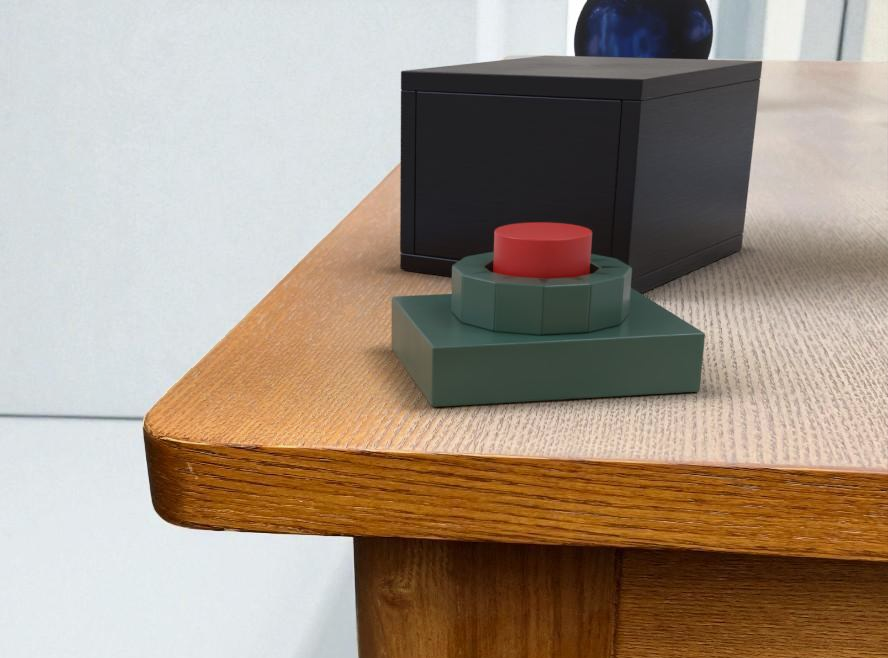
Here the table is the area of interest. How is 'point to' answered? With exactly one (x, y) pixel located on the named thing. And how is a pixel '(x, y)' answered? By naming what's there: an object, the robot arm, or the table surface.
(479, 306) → the block
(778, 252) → the table surface
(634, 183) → the black paneled box
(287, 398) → the table surface
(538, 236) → the button
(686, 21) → the decorative sphere
